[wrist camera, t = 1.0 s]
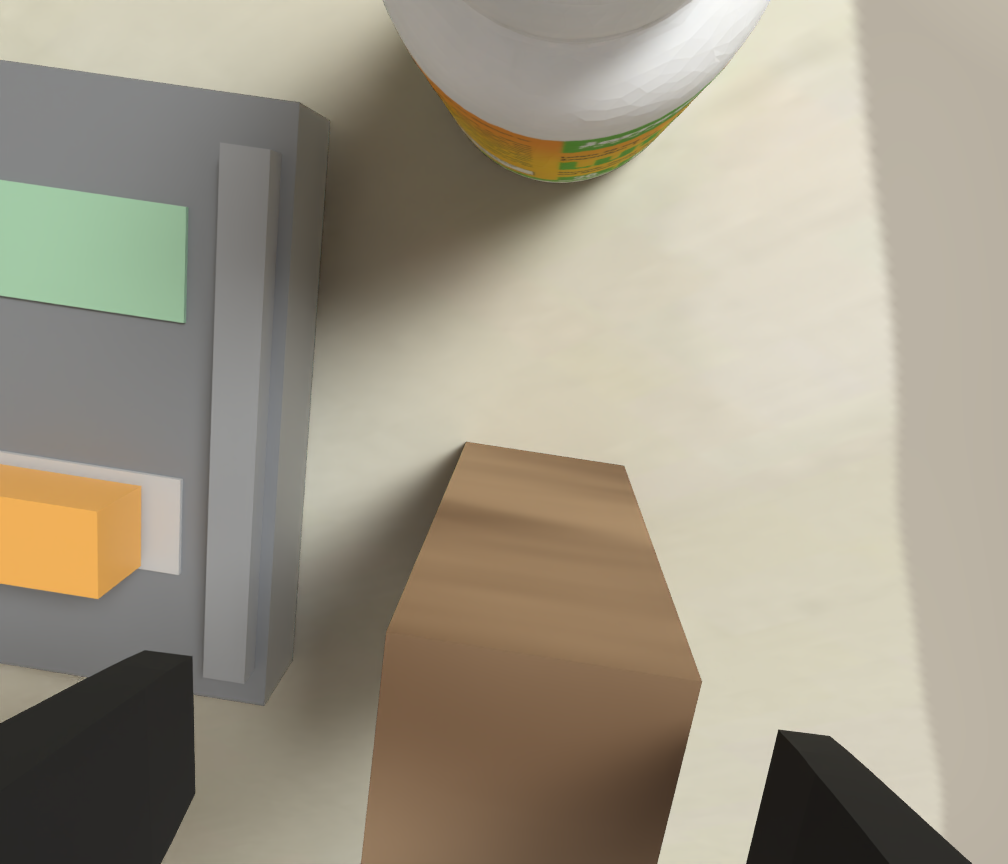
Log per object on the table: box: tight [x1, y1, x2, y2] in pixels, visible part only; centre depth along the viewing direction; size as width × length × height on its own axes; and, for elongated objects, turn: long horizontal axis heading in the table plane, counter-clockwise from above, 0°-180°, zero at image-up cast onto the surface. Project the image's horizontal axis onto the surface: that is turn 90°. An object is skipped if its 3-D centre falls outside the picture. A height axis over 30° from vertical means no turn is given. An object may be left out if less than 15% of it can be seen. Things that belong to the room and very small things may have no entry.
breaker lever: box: [0, 464, 141, 599], centre depth 15 cm, size 2×4×2 cm, turn 82°
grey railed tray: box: [0, 60, 330, 706], centre depth 16 cm, size 14×10×3 cm
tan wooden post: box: [361, 442, 702, 864], centre depth 14 cm, size 4×4×9 cm
